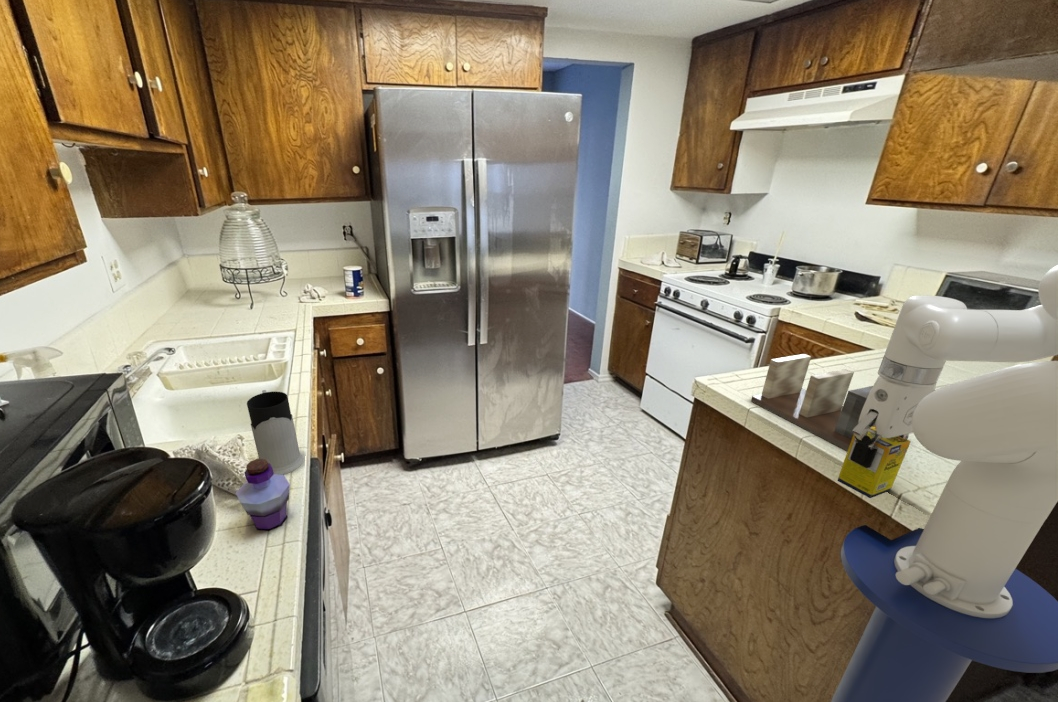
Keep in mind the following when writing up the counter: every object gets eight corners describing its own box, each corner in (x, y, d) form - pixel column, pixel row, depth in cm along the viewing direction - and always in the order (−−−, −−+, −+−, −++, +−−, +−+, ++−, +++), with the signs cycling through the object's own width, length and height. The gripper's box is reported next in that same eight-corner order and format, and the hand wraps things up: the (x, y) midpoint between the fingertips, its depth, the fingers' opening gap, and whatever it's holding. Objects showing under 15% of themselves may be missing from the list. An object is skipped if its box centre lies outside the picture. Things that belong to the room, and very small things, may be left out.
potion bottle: (298, 500, 87) (286, 445, 82) (294, 532, 79) (281, 473, 74) (248, 508, 85) (233, 453, 80) (239, 542, 77) (222, 483, 72)
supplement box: (890, 491, 86) (912, 440, 82) (869, 499, 85) (890, 448, 80) (856, 473, 92) (875, 425, 87) (836, 480, 90) (853, 431, 85)
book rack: (853, 454, 97) (872, 406, 93) (750, 401, 120) (761, 359, 115) (906, 440, 102) (926, 393, 97) (797, 391, 125) (809, 351, 120)
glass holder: (261, 480, 93) (245, 414, 86) (254, 446, 104) (239, 386, 98) (306, 467, 96) (294, 403, 90) (295, 436, 108) (283, 377, 102)
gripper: (898, 387, 73) (860, 481, 80) (970, 371, 77) (928, 462, 85) (849, 369, 79) (818, 458, 87) (918, 356, 84) (884, 441, 91)
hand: (873, 459), depth 86 cm, fingers closed on supplement box, 6 cm apart
